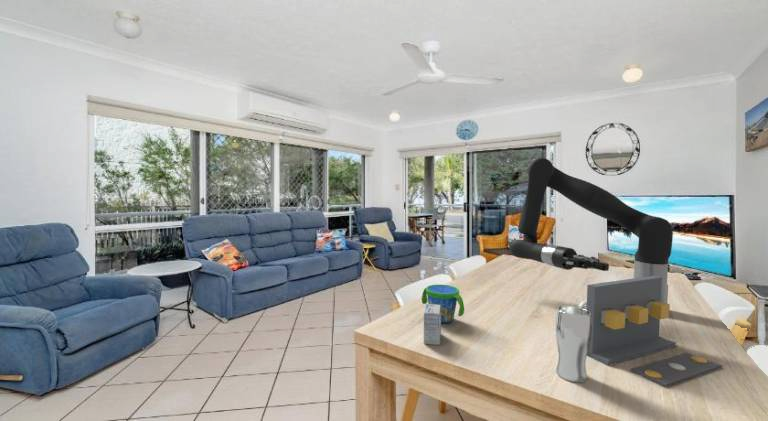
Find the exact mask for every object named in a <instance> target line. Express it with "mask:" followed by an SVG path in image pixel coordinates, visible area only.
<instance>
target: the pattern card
mask: <svg viewBox="0 0 768 421" xmlns="http://www.w3.org/2000/svg"><path fill="white" fill-rule="evenodd" d="M720 369H723V365H722V364H719V363H717V362H714V361H711V360H710V359H709V360H708V359H705V358H703V357H700V356H697V355H696V354H695V355H694V354H692V353H689V352H687V351H685V352H682V353H679V354H675V355H672V356H668V357H666V358H663V359H659V360H655V361H652V362H648V363H646V364H642V365H637V366H634V367H632V368H630V372H631V373H634V374H636V375H638V376H640V377H642V378H644V379H646V380H648V381H651V382H653V383H655V384H657V385H659V386H661V387H664V388H669V387H672V386H675V385H677V384H679V383H683V382H686V381H688V380H692V379H694V378H697V377H700V376H703V375H706V374H708V372H709V373H712V372H715V371H717V370H720ZM711 371H712V372H711ZM705 373H706V374H705Z"/></svg>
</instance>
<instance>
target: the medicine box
mask: <svg viewBox="0 0 768 421" xmlns="http://www.w3.org/2000/svg"><path fill="white" fill-rule="evenodd" d="M441 335H442V323H441V305H436V304H428V303H426V306H425V309H424V313H423V344H424V345H430V346H431V345H433V346H440V345H441V337H442V336H441Z"/></svg>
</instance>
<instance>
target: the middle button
mask: <svg viewBox="0 0 768 421" xmlns="http://www.w3.org/2000/svg"><path fill="white" fill-rule="evenodd" d="M624 313H625V318H626V319H628V321H630V322H633V323H636V324H643V323H647V322H648V308H645V307H641V306H633V305H625V310H624Z"/></svg>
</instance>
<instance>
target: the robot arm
mask: <svg viewBox="0 0 768 421" xmlns="http://www.w3.org/2000/svg"><path fill="white" fill-rule="evenodd" d="M526 172H527V189H526V194H525V199H524V202H523V206H522V209H521V212H520V217H519V221H518V226H517V231H518V232H519V233H520V234H522V235H523V239H514V240H512V241H511V242H510V243H509V248H508V249H509V252H510V254H511V255H512V256H513V257H515V258H520V259H526V260H531V261H535V262H539V263H542V264H546V265H548V266H551V267H555V268H558V269H563V270H567V271H570V270H572V269H574V268H577V269H585V270H588V269H591V270H599V271H603V272H606V271H607V272H608V271H609V268H610V265H609V263H606V262H602V261H600V259H599V258H597V257H595V256H590V257H589V256H585V255H583V254H578V253H577V252H576V250H575V249H574V248H571V247H567V246H561V245H555V244H547V243H541V242H538V230H539V229H538V228H539V224H540V218H541V214H542V208H543V202H544V197H545V193H546V191H547V188H550V189H551V190H553V191H556V192H558V193H560V194H561V195H562V196H564V197H565V198H566V199H568V201H571V202H573V203H574V204H575V205H578V206H579V207H581V208H583V209H584V210H586V211H589V213H592V214H594V215H596V216H598V217H601V218H603V219H605V220H609V221H611V222H614V223H616V224H618V225H619V226H621V227H622V228H624V229H625V230H626V231H629V232H630V233H631V234H633V235H635V236H636V237H637V238H638V246H637V250H636V251H635V254H634V264H633V265H634V267H633V268H634V269H633V278H640V277H648V276H658V277H662V288H661V302H663V303H667V304H668V298H669V284H668V272H669V259H670V257H671V255H672V249H673V238H674V237H673V236H674V230H673V227H672V226H673V225H672V224H671V222H670V221H668V219H666V218H662V217H659V216H654V215H650V214H647V213H645V212H642V211H639V210H638V209H635V208H633V207H631V206H630V205H628V204H626V203H625V202H624V201H622V200H621V199H620V198H619V197H616V196H615V195H614V194H612V193H611V192H609V191H608V190H605V189H604V188H602V187H600V186H598V185H596V184H593V183H591V182H589V181H586V180H584V179H581V178H578V177H575V176H572V175H569V174H567V173H565V172H563V171H561V170H560V169H559V168H557V167H555V166H554V165H553V163H552V162H551V161H550V160H549V159H548V158H546V157H538V158H536V159H534V160H532V161H531V162H530V163H529V164H528V166H527V171H526Z"/></svg>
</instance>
